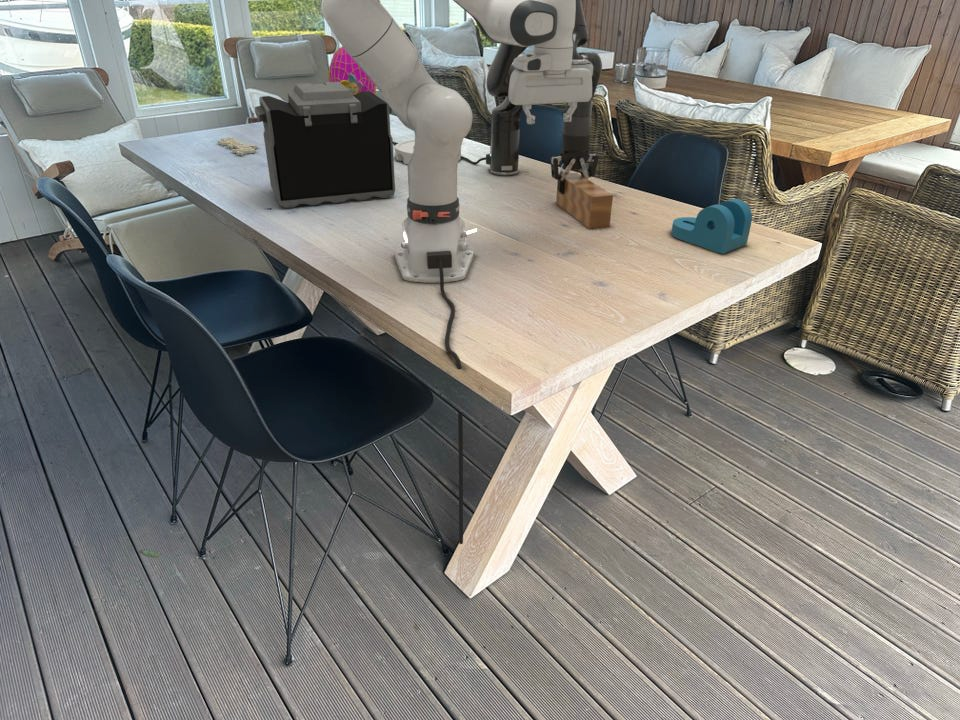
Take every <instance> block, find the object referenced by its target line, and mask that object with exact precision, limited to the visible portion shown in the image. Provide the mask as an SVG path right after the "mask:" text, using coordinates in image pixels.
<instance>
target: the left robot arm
mask: <svg viewBox="0 0 960 720" xmlns="http://www.w3.org/2000/svg"><path fill="white" fill-rule="evenodd" d="M452 1H453V2H454V3H456V5H458V6H459V7H460V8H461V9H463V10H464V11H465V12H466V13H467V14H469V16H471V18H472V19H473V21H475V23H476V25H477V27H478V28H479V30H480V32H481V34H482V35H483V36H484V38H485V39H486V40H487V41H489V42H491V43H493V44H510V45H515V46H521V47H527V48H529V47H532V46H533V50H532V51H530V52H528V53H527V52H526V53H524V54H522V55H519V56H518V57H517V58H515V59H514V61H513V63H512V64H513V65H514V67H515V68H517V69H515V70H514V71H513V72H512V74H511V77H510V82H509V92H508V98H509V100H510V102H511V103H512V104H514V105H522V110H523V112H524V113H525V116H526V124H527V125H535V124H536V121H535V120H536V116H535V115H533V114H532V113H531V111H530V110H532V105H546V104H547V105H548V104H566V103H568V106H570V107H569V109H568V111H567V113H565V112H564V113H563V114H562V116H563V118H562V122H563V123H564V122H571V119H572V114H573V113H574V111H575V109H576V108H577V102H588V101H589V100H590V99H591V97H592V75H593V65H592V63H591V62H590V61H588V60H587V59H583V60H572V55H573V41H572V33H573V29H574V26H575V13H576V0H452ZM320 9H321V14H322V17H323V18H324V20H325V22H326V24H327V25H328V27H329V29H330V30H331V32H332V33H333V35H334V37H335V38H336V39H337V41H338V42H339V44H340V45H341V47H344V49H345V50H346V51H347V52H348V54H349V55H350V56H351V57H352V58H353V60H354V61H355V62H356V63H357V64H358V65H359V67H360V68H361V69H362V70H363V71H364V72H365V74H366V75H367V76H368V77H369V78H370V80H371V81H372V82H373V83H374V84H375V86H376V89H377V90H378V92H380V94H381V95H382V97H383V99H384V101H385V102H386V103H388V105H389V106H390V107H391V109H392V112H393V113H394V114H395V115H396V117H397V119H398V120H399V121H400V122H401V123H402V125H403V126H404V127H406V128H407V129H409V130H410V131H413V132H414V139H415V145H414V150H413V155H412V158H411V160H410V161H409V163H408V164H407V184H408V186H407V187H408V198H407V199H406V211H407V213H406V214H407V217H406V218H405V219H404V220H403V221H402V223H401V231H402V242H401V244H400V247H401V249H400V250H397V251H395V252H394V259H395V262H396V264H397V267H398V269H399V272H400V274H401V277H402V279H403V280H405V281H408V282H414V283H431V284H433V283H435V284H437V283H439V289H440V294H441V297H442V298H443V300H444V301H445V303H447V304H448V305H449V308H450V315H449V318H448V321H447V325H446V331H445V336H444V346H445V350H446V352H447V353H448V354H449V355H450V356H451V357H453V359H454V361H455V365H456V369H457V370H462V368H463V367H462V362H461V360H460V357H459V355H458V354H457V353H456V352H455V351H454V350H452V348H451V345H450V338H451V337H450V336H451V331H452V324H453V321H454V318H455V315H456V314H455V313H456V307H455V305H454V303H453V302H452V301H451V300H450V298H448V296H447V295H446V292H445V283H451V282H457V281H461V280H464V279H466V277H467V274H468V273H469V269H470V267H471V265H472V262H473V260H474V257H475V251H473V250H471V249H468V245H469V243H468V242H467V241H466V238H467V236H468V235H470V234H473V233H476V232H478V229H477V228H474V229H470V230H467V231H466V221H465V220H464V219H463V218H461V216H460V208H461V207H460V206H461V205H460V198H459V197H458V164H459V161H458V158H459V153H460V149H461V150H462V145H463V141H464V139H465V138H466V136H468V134H469V133H470V131H471V128H472V124H473V118H474V117H473V111H472V108H471V106H470V104H469V103H468V101H467V100H466V99H465V98H464V97H463V96H462V94H460V93H459V92H458V91H456V90H454V89H452V88H450V87H446V86H444V85H441V84H439V82H437V81H435V79H433V78H432V77H431V75H430V74H429V72H428V71H427V70H426V68H425V65H424V63H423V62H422V61H421V58H420V56H419V52H418V49H417V48H416V46H415V45H414V43H413V42H412V41H411V39H409V37H408V35H407V34H406V33H405V32H404V31H403V29H402V28H401V27H400V25H399V24H398V23H397V21H396V20H395V19H394V17H393V16H392V15H391V13H389V11H388V10H387V9H386V7H384V5H383V4H382V3H381V0H321V5H320ZM588 63H589V64H588ZM579 64H582V65H579ZM463 416H464V415H463V411H457V425H458V426H457V427H458V429H457V430H458V431H457V432H458V544H459V545H464V421H463V420H464V419H463Z"/></svg>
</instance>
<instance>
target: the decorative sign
mask: <svg viewBox="0 0 960 720" xmlns="http://www.w3.org/2000/svg"><path fill="white" fill-rule="evenodd" d="M217 144H218V145H220V146H226V147H227V149H231V152H232V153H233V154H236V156H244V155H247V154H254V153H256V149H258V148H259V147H258V144H246V143H244V142H241V141H239V140H237V139H236V138H234V137H232V136H230V137H229V136H228V137H225V138H224V137H221V138H220V140H217Z"/></svg>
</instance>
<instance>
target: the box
mask: <svg viewBox="0 0 960 720" xmlns="http://www.w3.org/2000/svg"><path fill="white" fill-rule="evenodd" d="M564 181H565V188H564V194H560V193H559V191H558V190H557V188H558V180H557V183H556V184H557V185H556V198H555V204H556V205H557V206H559V207H560V208H562V209H563V210H564V211H565V212H567V213H568V214H569V215H570V216H571V217H574V219H576V220H577V221H579V222H580V223H582V225H584V226H585V227H586V228H588V229H589V230H590V229H591V230H592V229H600V228H609V227H610V226H611V225H610V224H611V217H612V216H611V215H612V207H613V199H614V194H612V193H610V192H609V191H607V190H605V189H604V188H602V187H600V185H597V184H596V183H594V182H593V181H591V180H590V179H589V178H588V179H586V178H585V177H583V176H581V173H578V172H569V174H567V176H566V178H565V180H564Z"/></svg>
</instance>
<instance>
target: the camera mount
mask: <svg viewBox="0 0 960 720" xmlns="http://www.w3.org/2000/svg"><path fill="white" fill-rule="evenodd" d="M752 223H753V212H752V209H751V208H750V206H749V205H748V203H746V202H745V200H742V199H740V198H731V199H729V200H724V201H722V202H720V203H719V204H712V205H710V206H707V207H704V208H702V209H700V210H699V211H698V213H697V215H696V217H695V216H683V217H677V218H675V219H673V220H672V225H671V233H670V234H671V236H672V237H674V238H675V239H678V240H680V241H683V242H686V243H689V244H691V245H695V246H698V247H700V248H703V249H706V250H710V251H712V252H715V253H719V254H721V255H724V254H726V253H728V252H732V251H733V250H737V249H739V248H741V247H744V246H747V244H748V240H749V236H750V231H751V226H752Z"/></svg>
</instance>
